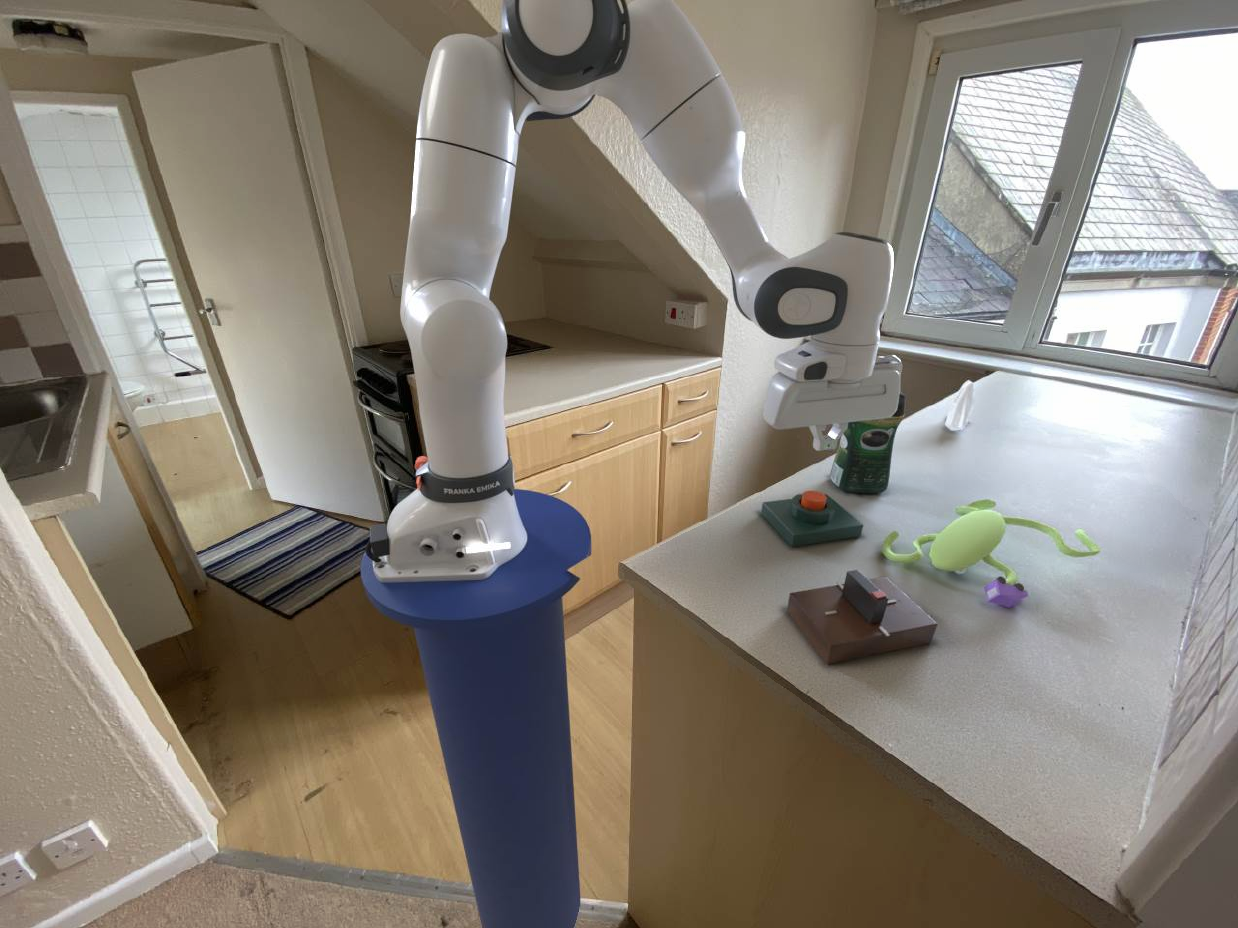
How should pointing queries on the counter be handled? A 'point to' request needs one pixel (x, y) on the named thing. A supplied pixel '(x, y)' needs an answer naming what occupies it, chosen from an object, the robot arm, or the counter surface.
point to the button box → (810, 521)
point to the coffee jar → (867, 453)
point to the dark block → (865, 596)
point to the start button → (813, 500)
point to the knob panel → (858, 622)
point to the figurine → (982, 547)
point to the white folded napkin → (961, 407)
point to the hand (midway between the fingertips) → (824, 448)
